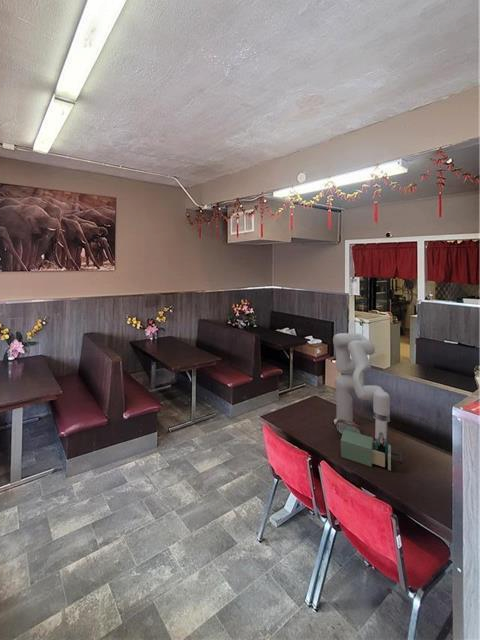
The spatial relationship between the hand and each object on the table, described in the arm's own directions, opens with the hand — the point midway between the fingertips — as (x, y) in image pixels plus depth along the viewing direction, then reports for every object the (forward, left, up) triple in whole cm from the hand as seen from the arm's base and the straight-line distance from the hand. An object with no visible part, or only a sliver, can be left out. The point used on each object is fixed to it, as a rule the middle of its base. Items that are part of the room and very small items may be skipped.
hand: (381, 450), depth 159 cm
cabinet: (0, -12, -7) cm, 14 cm away
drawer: (0, 0, -6) cm, 6 cm away
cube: (0, 0, 0) cm, 0 cm away
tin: (-18, -18, -7) cm, 26 cm away
